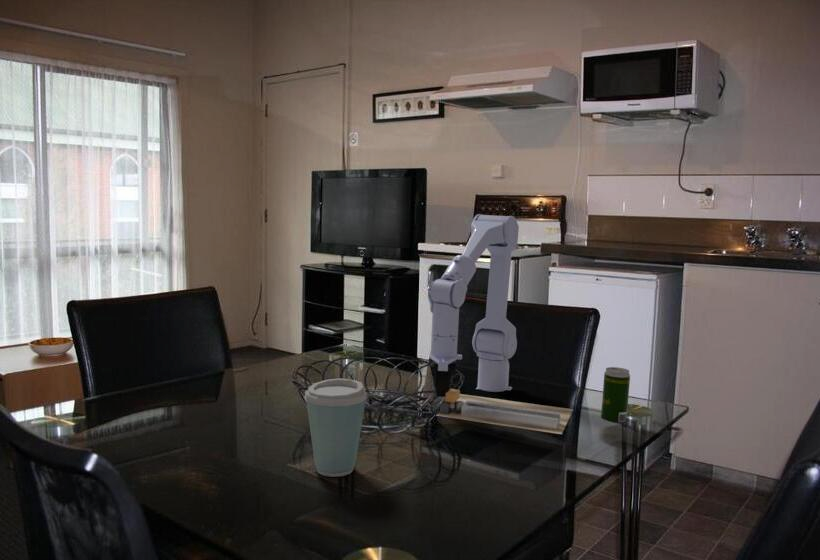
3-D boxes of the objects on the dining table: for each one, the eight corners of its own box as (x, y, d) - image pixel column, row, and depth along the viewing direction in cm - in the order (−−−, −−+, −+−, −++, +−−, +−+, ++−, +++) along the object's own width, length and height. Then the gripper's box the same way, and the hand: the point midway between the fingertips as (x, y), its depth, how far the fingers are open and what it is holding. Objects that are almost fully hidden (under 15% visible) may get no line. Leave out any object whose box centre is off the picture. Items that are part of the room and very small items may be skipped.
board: (453, 398, 170) (454, 393, 170) (572, 414, 161) (573, 409, 161) (429, 419, 152) (429, 414, 152) (561, 439, 143) (561, 434, 143)
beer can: (631, 424, 155) (635, 371, 154) (616, 429, 152) (620, 374, 150) (610, 418, 159) (614, 365, 158) (595, 422, 156) (599, 368, 155)
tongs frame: (440, 405, 159) (440, 395, 159) (560, 423, 150) (561, 411, 150) (432, 412, 154) (432, 401, 154) (556, 430, 145) (557, 419, 145)
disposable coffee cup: (339, 487, 115) (342, 397, 113) (288, 471, 120) (290, 385, 119) (376, 468, 124) (380, 384, 122) (327, 454, 129) (330, 373, 128)
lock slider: (450, 396, 157) (451, 388, 157) (459, 398, 156) (459, 390, 156) (445, 401, 153) (445, 393, 153) (454, 402, 153) (454, 394, 153)
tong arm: (456, 407, 157) (457, 398, 157) (560, 422, 150) (560, 412, 150) (453, 411, 154) (453, 402, 154) (558, 426, 147) (558, 416, 147)
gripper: (463, 342, 147) (460, 406, 148) (462, 329, 161) (459, 388, 163) (429, 340, 147) (426, 404, 149) (431, 328, 162) (428, 386, 163)
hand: (441, 395), depth 156 cm, fingers closed
